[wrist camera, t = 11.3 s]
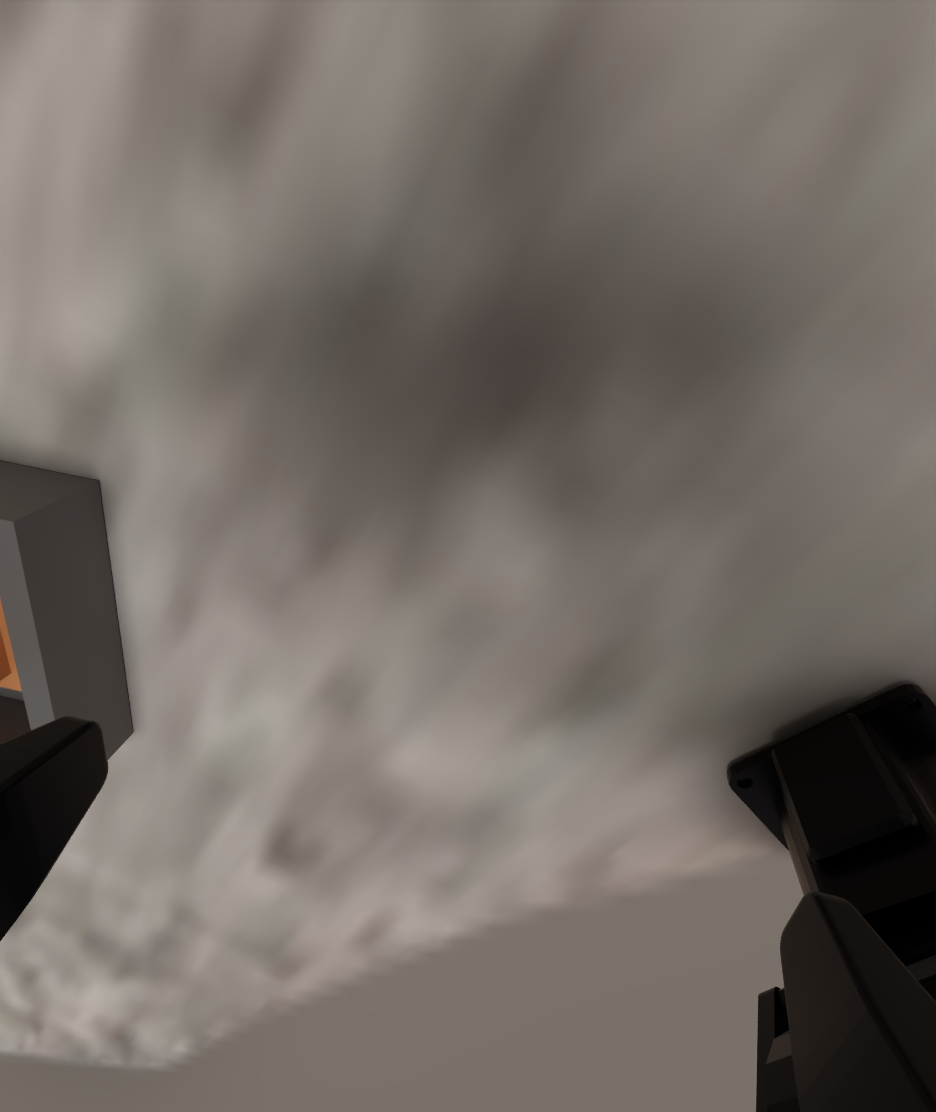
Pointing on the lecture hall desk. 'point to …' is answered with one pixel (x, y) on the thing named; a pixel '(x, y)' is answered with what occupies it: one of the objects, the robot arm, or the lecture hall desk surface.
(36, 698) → the gray square tray
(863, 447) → the lecture hall desk surface
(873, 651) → the lecture hall desk surface
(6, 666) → the orange post with base
